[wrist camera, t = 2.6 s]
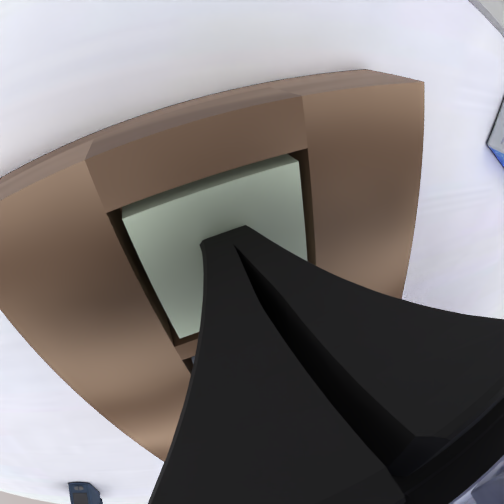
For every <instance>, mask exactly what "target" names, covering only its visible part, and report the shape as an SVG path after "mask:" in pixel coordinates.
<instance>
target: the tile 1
mask: <svg viewBox="0 0 504 504" xmlns="http://www.w3.org/2000/svg"><path fill="white" fill-rule="evenodd" d="M122 220H123V222H124V225H125V227H126V229H127V232H128V234H129V236H130V238H131V241H132V243H133V245H134V247H135V250H136V252H137V254H138V256H139V258H140V261H141V263H142V265H143V267H144V269H145V271H146V273H147V275H148V278H149V280H150V282H151V284H152V286H153V288H154V290H155V292H156V294H157V296H158V298H159V300H160V302H161V304H162V306H163V308H164V310H165V312H166V314H167V316H168V318H169V319H170V321H171V323H172V325H173V327H174V329H175V331H176V333H177V335H178V336H179V338H183V337H186V336H189V335H191V334H194V333H197V332H199V330H200V322H201V311H202V302H203V276H204V272H203V257H202V251H201V248H200V243H201V242H202V240H204V239H207V238H210V237H212V236H215V235H218V234H221V233H224V232H227V231H230V230H232V229H235V228H238V227H241V226H244V225H247V226H249V227H250V228H252V229H254V230H255V231H257V232H258V233H260V234H262V235H263V236H265V237H266V238H268V239H270V240H271V241H273V242H274V243H276V244H278V245H279V246H281V247H283V248H284V249H286V250H288V251H290V252H291V253H293V254H295V255H297V256H299V257H300V258H302V259H304V260H306V261H307V247H306V234H305V222H304V211H303V200H302V190H301V180H300V170H299V161H297V160H296V159H294V158H293V157H291V156H290V155H288V154H283V155H280V156H276V157H272V158H269V159H265V160H262V161H258V162H255V163H251V164H248V165H245V166H241V167H238V168H235V169H231V170H228V171H225V172H222V173H218V174H215V175H212V176H209V177H206V178H203V179H200V180H196V181H193V182H190V183H187V184H184V185H181V186H179V187H176V188H173V189H170V190H167V191H164V192H161V193H158V194H156V195H153V196H150V197H147V198H145V199H142V200H139V201H136V202H134V203H131V204H128V205H126V206H123V207H122Z"/></svg>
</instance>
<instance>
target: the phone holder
mask: <svg viewBox="0 0 504 504" xmlns="http://www.w3.org/2000/svg"><path fill="white" fill-rule="evenodd" d="M469 1H470V2H471V3H472V4H473V5H474V6H475V7H476V8H477V9H478V10H479V11H480V12H481V13H482V14H483V15H484V16H485V17H486V18H487V19H488V20H489V21H490V22H491V23H492V24H493V25H494V26H495V28H496V29H497V30H498V31H499V32H500V33H501V34H502V35H503V36H504V0H469Z"/></svg>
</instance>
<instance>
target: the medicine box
mask: <svg viewBox="0 0 504 504" xmlns="http://www.w3.org/2000/svg"><path fill="white" fill-rule="evenodd" d="M487 145H488V146H489V148H490V149H491V150H492V151H493V153H494V154H495V156H496V157H497V158H498V160H499V161H500V162H501V164H502V165H503V167H504V100H503V103H502V105H501V108H500V111H499V114H498V117H497V120H496V122H495V125H494V128H493V130H492V133H491V135H490V138H489V140H488V142H487Z"/></svg>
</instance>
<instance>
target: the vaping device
mask: <svg viewBox="0 0 504 504" xmlns="http://www.w3.org/2000/svg"><path fill="white" fill-rule="evenodd" d="M68 485H69V492H70V500H71V504H103V502H102V499H101V498H100V493H99V492H98V491H97V490H96V489H95V488H94V487H93V486H92V485H91V484H89V483H69V484H68Z"/></svg>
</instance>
